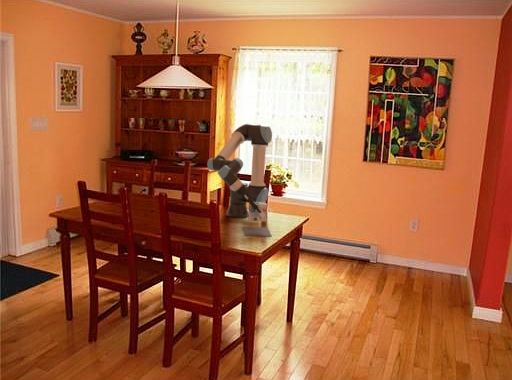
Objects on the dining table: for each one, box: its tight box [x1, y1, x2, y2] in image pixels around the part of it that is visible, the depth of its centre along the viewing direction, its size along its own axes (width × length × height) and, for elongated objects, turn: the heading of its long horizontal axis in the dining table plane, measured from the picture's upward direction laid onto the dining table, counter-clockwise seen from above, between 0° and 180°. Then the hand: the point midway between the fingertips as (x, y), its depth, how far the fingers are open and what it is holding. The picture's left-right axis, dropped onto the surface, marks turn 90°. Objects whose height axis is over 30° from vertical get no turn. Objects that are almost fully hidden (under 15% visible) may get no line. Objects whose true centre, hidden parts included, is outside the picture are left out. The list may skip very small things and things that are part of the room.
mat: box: [242, 226, 273, 238], centre depth 296 cm, size 20×16×1 cm
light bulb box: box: [247, 201, 268, 222], centre depth 293 cm, size 11×7×11 cm, turn 101°
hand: (263, 214), depth 294 cm, fingers closed on light bulb box, 7 cm apart
